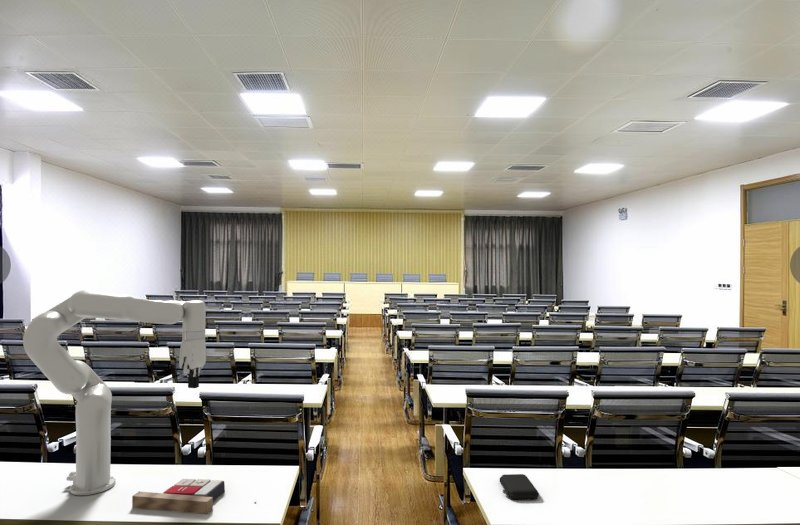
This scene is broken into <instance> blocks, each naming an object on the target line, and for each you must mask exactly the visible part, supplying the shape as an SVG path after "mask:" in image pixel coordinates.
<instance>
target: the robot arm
mask: <svg viewBox="0 0 800 525" xmlns="http://www.w3.org/2000/svg"><path fill="white" fill-rule="evenodd" d="M206 310H207V308H206V303H205V302H204V301H203V300H187V301H182V300H181V301H179V300H166V301H163V300H153V299H146V298H145V299H144V298H139V297H136V296H133V295H130V294H129V295H128V294H118V293H111V292H110V293H108V292H100V291H99V292H98V291H92V290H86V289H84V290H79V291H77V292H75V293H73V294H72V295H71V296H70V297H68V298H66V299H65V300H63V301H62V302H60V303H58V304H57V305H55V306H53V307H51V308H50V309H48V310H47V311H44V312H42V313H40V314H38V315H37V316H35V317H34V318H33V319H31V321H30V323H29V324H28V325H27V327H26V328H25V331H24V334H23V337H22V338H23V339H22V344H23V348H24V351H25V353H26V355H27V356H28V358H29V359H30V360H31V361H32V362H33V364H34V365H35V366H36V367H37V369H39V370H40V371H41V373H42V374H43V375H44V376H45V377H46V378H47V379H48V380H49V381H50V382H51V383H52V385H53V386H54V388H55V389H57V390H58V391H59V392H60V393H62V394H65V395H71V396H72V397H73V399H75V401H76V406H75V429H76V431H75V445H76V446H75V447H76V448H75V449H76V450H75V471H70V472H69V474H68V475H67V477H66V481H70V482H71V481H72V485H71V486H70V487H69V493H70V494H71V495H74V496H89V495H95V494H99V493H102V492H105V491H107V490H109V489H111V488H113V487H114V486H115V484H116V477H114V476H111V445H112V444H111V442H112V441H111V440H112V438H111V436H112V435H111V429H112V428H111V425H112V424H111V419H112V418H111V416H112V415H111V414H112V412H111V410H112V401H113V400H112V399H113V394H112V391H111V389H110V388H109V386H108V385H107V384H106V383H105V382H104V381H103V379H102V378H100V376H99V375H98V374H97V373H96V372H95V371H94V370H93V369H92V367H91V366H89V365H88V363H86V362H84V361H82V360H78V359H77V360H76V359H74V358H73V357H72V356H71V355H70V353H68V351H67V350H66V349H65V348H64V347H63V346H62V345H61V344H60V343H59V342H58V337H60V335H61V334H63V333H64V332H66V331H67V330H68V329H71V328H72V327H73V326H75V325H77V324H78V323H80V322H81V321H83V320H85V319H86V318H88V319H90V318H91V319H103V320H104V319H105V320H113V321H114V320H115V321H126V322H136V323H137V322H138V323H140V322H141V323H146V324H147V323H150V324H159V325H161V324H162V325H174V324H176V323H179V322H180V321H182V331H181V332H182V334H181V335H182V336H181V337H182V340H181V342H180V348H179V360H178V361H179V363H178V366H179V369H181V370H182V371H183V374H186V377H187V388H189V389H197V388H199V387H200V375H201V370H202V369H203V368H204V366H205V365H206V362H207V346H206V345H207V344H206Z"/></svg>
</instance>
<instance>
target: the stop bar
mask: <svg viewBox="0 0 800 525" xmlns="http://www.w3.org/2000/svg"><path fill="white" fill-rule="evenodd" d="M131 497H132V499H131V500H132V502H131V503H132V507H131V508H133V509H142V510H153V511H165V512H180V513H189V514H191V513H192V514H202V515H208V514H209V513H210V512H211V511H212V510H214V508H213V503H214V501H213V497H204V496H191V495H178V494H165V493H163V492H149V491H137V492H135V494H133V495H132V496H131Z"/></svg>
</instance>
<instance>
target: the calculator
mask: <svg viewBox="0 0 800 525" xmlns="http://www.w3.org/2000/svg"><path fill="white" fill-rule="evenodd" d="M225 485H226V484H225V481H224V480H221V479H220V480H216V479H212V480H211V479H206V478H205V479H201V478H200V479H199V478H197V479H196V478H183V479H180V480H179V481H178V482H176V483H175V484H174V485H172V486H170V487H169V488H168V489H166V490H164V491H163V492H162V493H165V494H178V495H191V496H204V497H213V502H215V501H216V500H217V499H218V498H219V497H220V496H222V495H223V494H224V493H225V492H226V489H225V488H226V486H225Z"/></svg>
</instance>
